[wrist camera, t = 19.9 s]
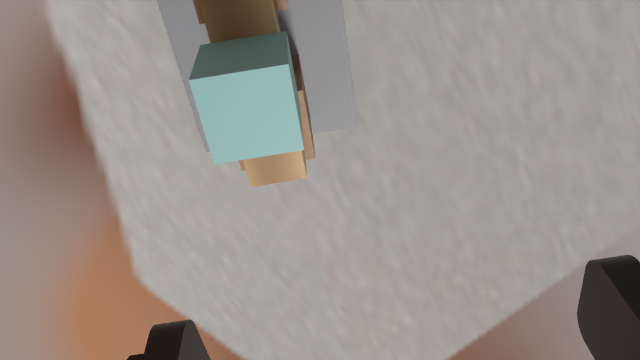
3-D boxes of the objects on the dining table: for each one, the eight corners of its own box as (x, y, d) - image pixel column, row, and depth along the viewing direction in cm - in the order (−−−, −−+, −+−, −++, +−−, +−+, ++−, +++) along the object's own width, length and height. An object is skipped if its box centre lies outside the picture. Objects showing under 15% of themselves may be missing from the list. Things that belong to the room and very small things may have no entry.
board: (322, -144, 31) (323, -144, 30) (356, 121, 41) (357, 126, 41) (125, -108, 31) (122, -107, 31) (207, 146, 41) (206, 152, 41)
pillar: (298, 54, 37) (302, 90, 32) (310, 116, 40) (315, 158, 35) (229, 66, 37) (222, 104, 32) (245, 127, 40) (241, 170, 35)
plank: (258, -80, 27) (257, -70, 24) (304, 152, 34) (306, 177, 32) (191, -67, 27) (182, -57, 24) (252, 161, 35) (250, 186, 32)
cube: (286, 30, 27) (288, 64, 23) (300, 109, 29) (304, 150, 26) (200, 45, 27) (188, 80, 23) (221, 121, 29) (214, 164, 26)
